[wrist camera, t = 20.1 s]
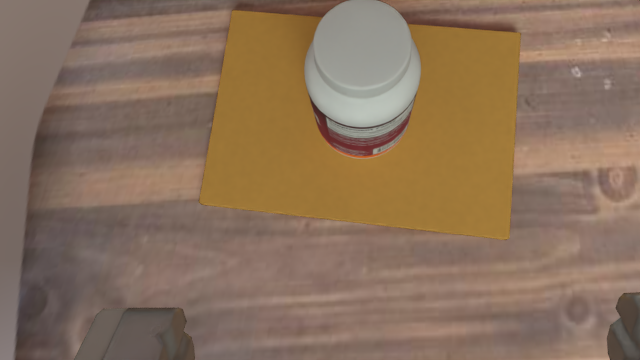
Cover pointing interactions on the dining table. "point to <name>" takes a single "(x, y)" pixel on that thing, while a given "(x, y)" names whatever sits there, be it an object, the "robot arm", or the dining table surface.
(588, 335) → the dining table surface
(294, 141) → the amber mat
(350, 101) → the pill bottle
